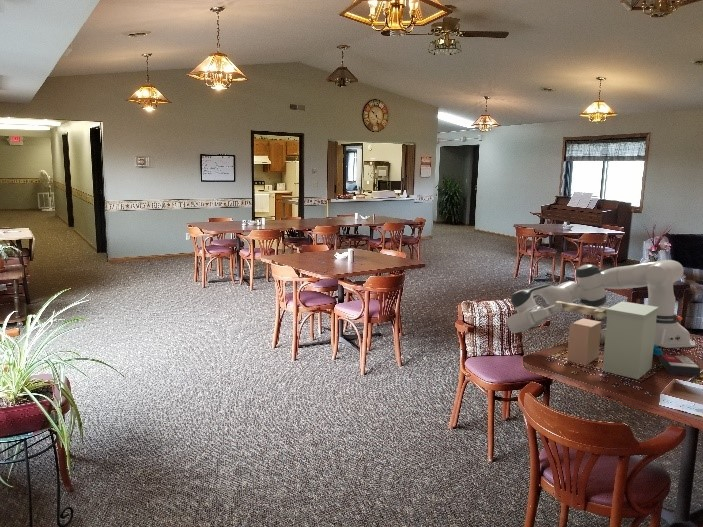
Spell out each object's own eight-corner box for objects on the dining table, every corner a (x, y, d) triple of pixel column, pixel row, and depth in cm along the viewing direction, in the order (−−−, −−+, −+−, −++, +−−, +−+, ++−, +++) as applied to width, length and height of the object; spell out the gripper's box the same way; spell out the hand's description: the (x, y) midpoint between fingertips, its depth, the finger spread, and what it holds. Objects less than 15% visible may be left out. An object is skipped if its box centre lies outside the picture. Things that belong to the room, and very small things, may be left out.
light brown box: (567, 360, 232) (569, 324, 229) (580, 352, 242) (582, 318, 239) (585, 365, 227) (588, 328, 224) (598, 357, 237) (601, 321, 234)
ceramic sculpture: (597, 321, 261) (632, 327, 254) (595, 338, 262) (629, 344, 256) (596, 327, 251) (632, 333, 245) (593, 344, 253) (629, 351, 246)
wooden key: (551, 310, 236) (551, 303, 236) (560, 306, 243) (561, 299, 243) (600, 319, 222) (601, 311, 221) (609, 314, 229) (610, 307, 228)
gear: (668, 355, 234) (655, 340, 231) (661, 365, 233) (648, 351, 230) (646, 350, 245) (634, 336, 242) (639, 361, 243) (627, 347, 241)
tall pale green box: (601, 370, 220) (606, 308, 216) (616, 359, 233) (622, 301, 229) (638, 379, 211) (644, 315, 206) (652, 368, 223) (658, 307, 219)
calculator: (688, 356, 228) (701, 366, 214) (687, 365, 229) (700, 376, 215) (659, 353, 231) (670, 363, 217) (658, 363, 232) (669, 374, 217)
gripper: (550, 317, 253) (577, 307, 243) (530, 326, 238) (557, 316, 229) (545, 305, 254) (571, 294, 245) (524, 313, 240) (551, 302, 230)
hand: (564, 305), depth 237 cm, fingers closed on wooden key, 3 cm apart
